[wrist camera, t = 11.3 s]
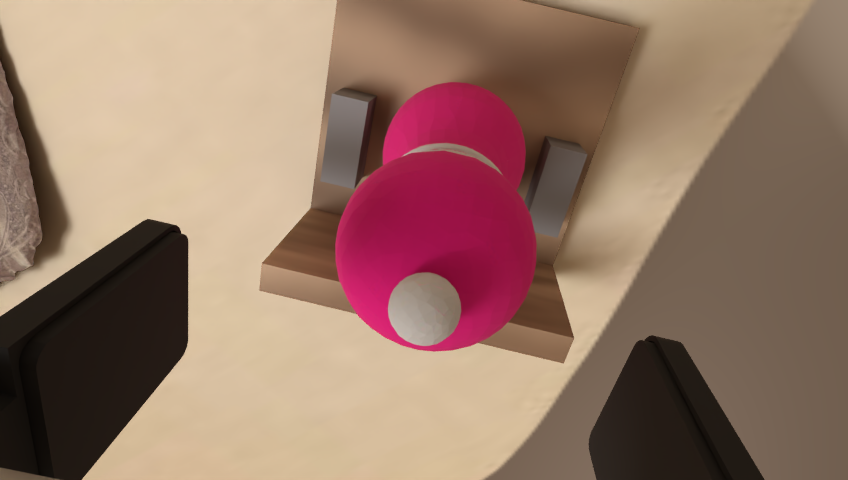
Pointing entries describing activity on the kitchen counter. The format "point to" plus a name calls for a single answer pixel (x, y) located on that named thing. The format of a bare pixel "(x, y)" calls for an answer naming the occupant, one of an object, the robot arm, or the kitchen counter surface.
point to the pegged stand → (474, 64)
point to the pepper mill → (441, 223)
